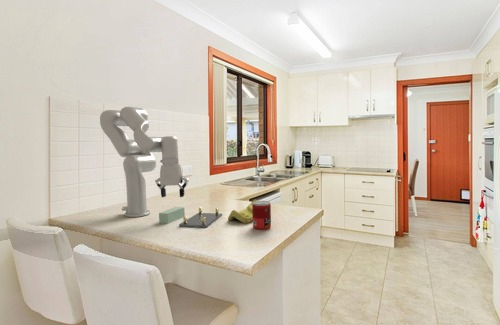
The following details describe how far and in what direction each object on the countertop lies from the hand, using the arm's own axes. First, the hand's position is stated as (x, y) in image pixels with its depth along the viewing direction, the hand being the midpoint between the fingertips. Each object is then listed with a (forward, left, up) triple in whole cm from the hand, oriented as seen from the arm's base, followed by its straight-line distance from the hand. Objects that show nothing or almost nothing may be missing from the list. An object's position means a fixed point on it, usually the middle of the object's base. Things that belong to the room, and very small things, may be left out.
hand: (172, 196), depth 144 cm
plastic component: (+36, +8, -12) cm, 39 cm away
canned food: (+45, -7, -12) cm, 47 cm away
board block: (-1, 0, -12) cm, 12 cm away
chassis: (+15, 0, -11) cm, 19 cm away
